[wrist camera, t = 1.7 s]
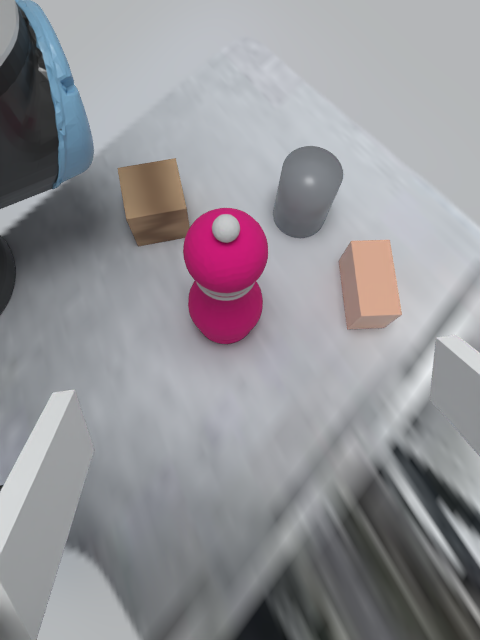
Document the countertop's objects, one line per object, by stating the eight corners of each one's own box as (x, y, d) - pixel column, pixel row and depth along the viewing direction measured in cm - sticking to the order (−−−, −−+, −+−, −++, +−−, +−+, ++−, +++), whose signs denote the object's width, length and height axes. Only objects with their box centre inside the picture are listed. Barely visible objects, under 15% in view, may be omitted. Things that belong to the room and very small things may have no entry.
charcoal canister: (274, 238, 48) (284, 199, 40) (271, 192, 49) (280, 146, 42) (327, 237, 48) (346, 198, 40) (321, 191, 50) (339, 145, 42)
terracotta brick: (346, 329, 45) (361, 316, 40) (338, 261, 47) (351, 241, 43) (383, 328, 45) (401, 314, 40) (373, 260, 48) (389, 239, 43)
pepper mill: (246, 276, 46) (261, 158, 27) (268, 336, 44) (302, 255, 25) (183, 295, 45) (152, 188, 26) (203, 358, 44) (186, 291, 24)
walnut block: (138, 246, 47) (126, 219, 41) (130, 200, 49) (117, 168, 43) (191, 236, 48) (186, 208, 42) (181, 191, 49) (175, 158, 43)
